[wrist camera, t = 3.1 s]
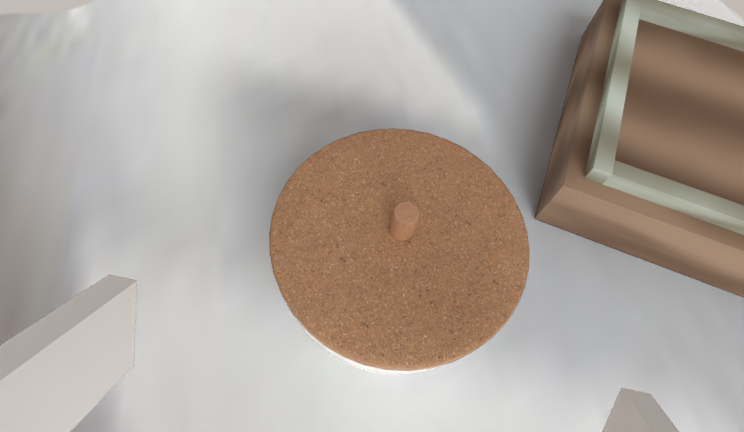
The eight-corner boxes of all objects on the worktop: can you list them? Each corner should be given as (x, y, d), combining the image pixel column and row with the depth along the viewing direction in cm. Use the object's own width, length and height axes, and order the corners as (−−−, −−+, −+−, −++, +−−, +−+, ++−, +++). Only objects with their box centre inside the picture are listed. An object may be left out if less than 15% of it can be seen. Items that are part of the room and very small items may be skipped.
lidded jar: (266, 235, 26) (233, 136, 18) (432, 186, 28) (470, 79, 20) (321, 424, 22) (311, 411, 13) (512, 348, 24) (604, 297, 16)
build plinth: (836, 331, 26) (940, 308, 21) (534, 218, 28) (572, 175, 23) (814, 111, 34) (886, 61, 29) (581, 36, 36) (616, -22, 31)
